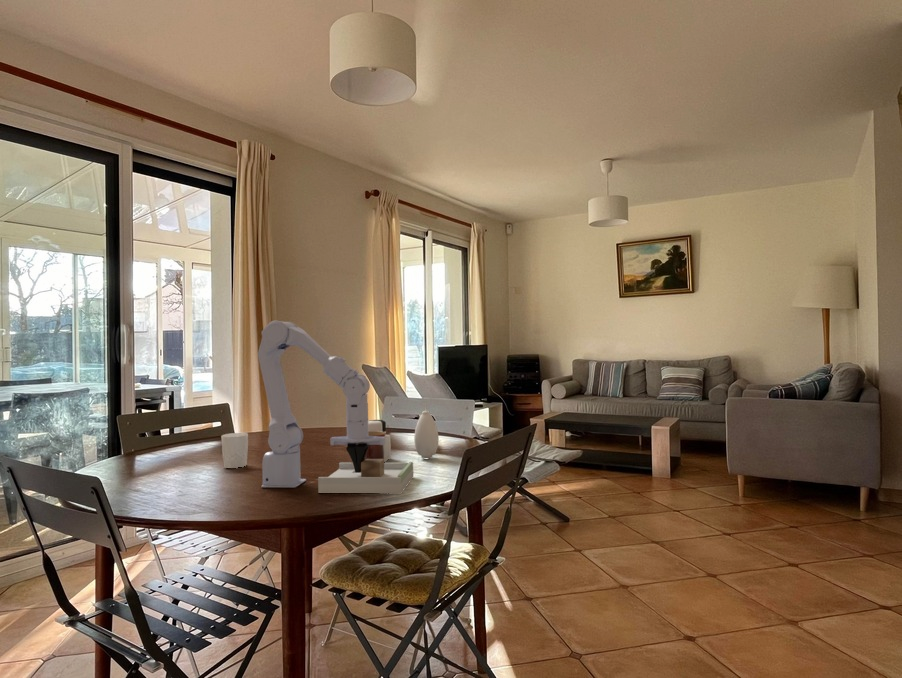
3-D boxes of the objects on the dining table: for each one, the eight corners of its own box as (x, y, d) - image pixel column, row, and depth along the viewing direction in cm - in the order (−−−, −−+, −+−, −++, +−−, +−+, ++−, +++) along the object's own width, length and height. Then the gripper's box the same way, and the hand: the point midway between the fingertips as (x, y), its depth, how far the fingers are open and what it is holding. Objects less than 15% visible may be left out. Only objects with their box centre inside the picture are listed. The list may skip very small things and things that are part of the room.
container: (368, 458, 185) (367, 418, 185) (391, 458, 184) (390, 418, 184) (360, 463, 178) (360, 421, 178) (384, 463, 176) (383, 422, 176)
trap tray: (318, 493, 142) (318, 476, 142) (340, 476, 159) (339, 461, 160) (400, 494, 139) (400, 476, 139) (413, 476, 157) (412, 461, 157)
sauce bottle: (437, 461, 178) (436, 404, 178) (412, 461, 179) (411, 404, 179) (440, 456, 185) (439, 401, 186) (416, 456, 186) (415, 402, 186)
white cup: (242, 469, 172) (241, 436, 173) (217, 469, 173) (216, 437, 173) (252, 463, 180) (252, 432, 180) (228, 464, 181) (227, 433, 181)
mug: (362, 464, 176) (361, 431, 176) (389, 464, 175) (388, 431, 175) (350, 472, 164) (349, 437, 164) (379, 473, 163) (378, 437, 163)
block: (361, 478, 147) (360, 462, 147) (366, 473, 152) (365, 458, 152) (380, 478, 146) (379, 462, 146) (384, 473, 151) (384, 458, 151)
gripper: (326, 423, 147) (327, 475, 146) (380, 422, 145) (381, 475, 145) (334, 419, 154) (335, 469, 154) (386, 419, 152) (387, 469, 152)
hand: (358, 471), depth 150 cm, fingers closed
